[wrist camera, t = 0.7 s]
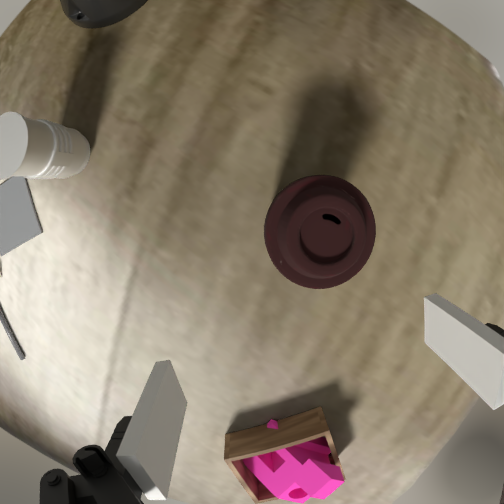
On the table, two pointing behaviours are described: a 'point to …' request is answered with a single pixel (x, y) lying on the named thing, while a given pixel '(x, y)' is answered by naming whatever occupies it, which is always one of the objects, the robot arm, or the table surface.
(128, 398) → the table surface
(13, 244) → the mat
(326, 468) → the bracket
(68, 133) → the grey ribbed canister
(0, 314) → the power strip
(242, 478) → the display box
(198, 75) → the table surface
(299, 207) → the coffee cup
